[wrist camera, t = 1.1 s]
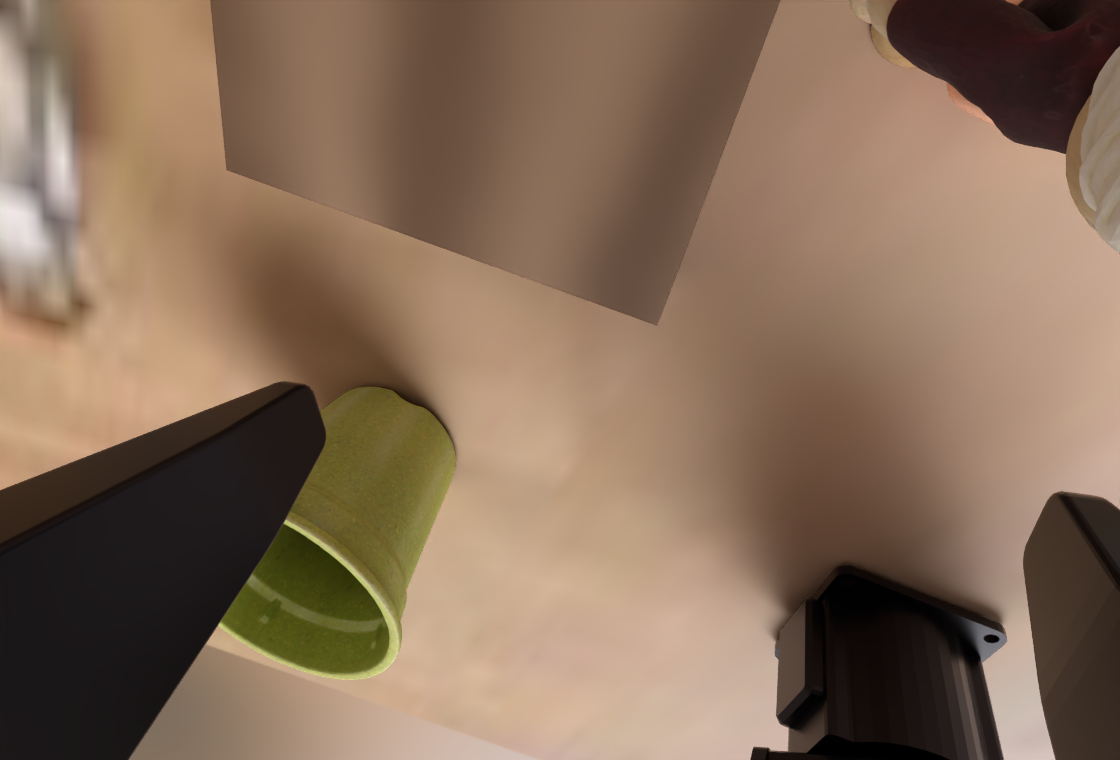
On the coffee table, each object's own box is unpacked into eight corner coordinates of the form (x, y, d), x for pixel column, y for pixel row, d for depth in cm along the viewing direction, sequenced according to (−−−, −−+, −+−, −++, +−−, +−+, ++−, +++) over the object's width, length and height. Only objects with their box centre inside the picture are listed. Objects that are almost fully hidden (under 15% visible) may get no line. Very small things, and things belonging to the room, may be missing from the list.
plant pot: (529, 509, 30) (444, 686, 23) (370, 526, 34) (260, 679, 27) (429, 329, 26) (291, 479, 19) (264, 374, 30) (103, 510, 23)
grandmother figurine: (814, 100, 17) (818, 349, 7) (847, -79, 15) (917, -64, 5) (1162, 116, 15) (1801, 481, 5) (1259, -87, 13) (2607, -88, 3)
